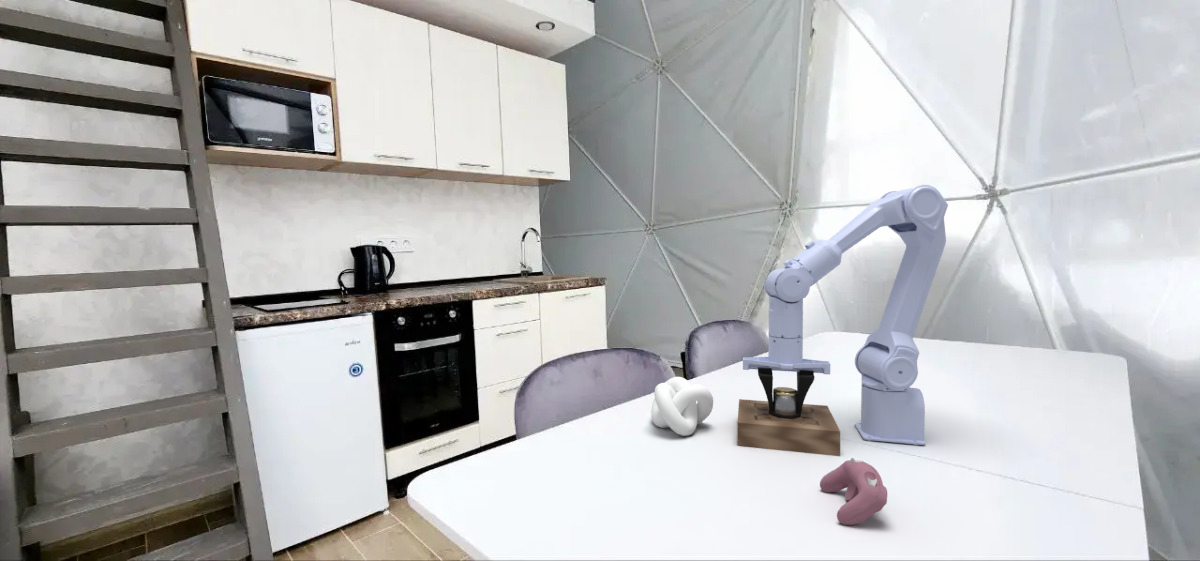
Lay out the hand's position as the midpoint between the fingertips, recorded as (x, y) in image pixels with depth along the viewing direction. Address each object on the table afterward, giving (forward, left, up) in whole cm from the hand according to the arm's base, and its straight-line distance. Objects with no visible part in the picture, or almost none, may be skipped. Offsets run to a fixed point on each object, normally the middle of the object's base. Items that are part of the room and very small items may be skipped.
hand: (784, 410), depth 88 cm
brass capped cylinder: (0, 0, -2) cm, 2 cm away
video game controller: (-7, +24, -5) cm, 26 cm away
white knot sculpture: (+18, +1, -5) cm, 19 cm away
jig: (0, 0, -4) cm, 4 cm away
